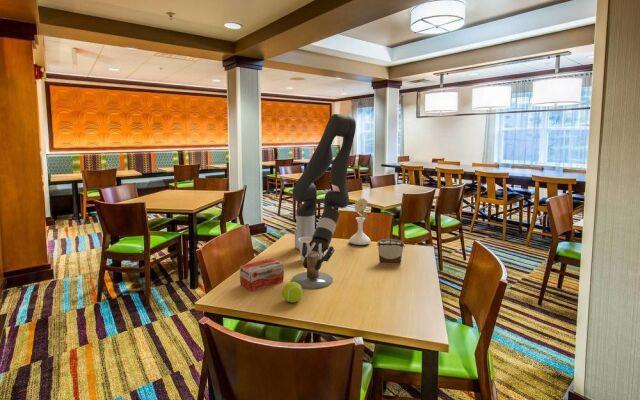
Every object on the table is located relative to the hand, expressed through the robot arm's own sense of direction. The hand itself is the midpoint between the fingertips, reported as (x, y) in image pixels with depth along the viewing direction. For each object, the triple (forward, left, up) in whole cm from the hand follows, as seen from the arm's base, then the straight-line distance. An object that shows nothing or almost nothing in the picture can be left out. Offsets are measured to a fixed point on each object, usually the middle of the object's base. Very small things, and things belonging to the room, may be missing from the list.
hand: (310, 268), depth 151 cm
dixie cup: (-14, +23, -6) cm, 28 cm away
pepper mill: (0, +2, -4) cm, 4 cm away
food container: (+20, +39, -6) cm, 44 cm away
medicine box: (-16, -10, -6) cm, 20 cm away
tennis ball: (+3, -18, -6) cm, 19 cm away
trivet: (0, +2, -6) cm, 6 cm away
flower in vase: (-2, +59, -6) cm, 59 cm away
